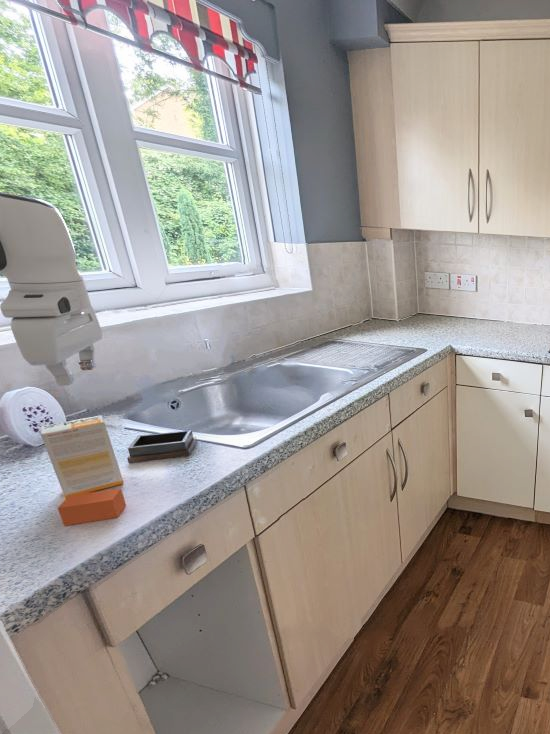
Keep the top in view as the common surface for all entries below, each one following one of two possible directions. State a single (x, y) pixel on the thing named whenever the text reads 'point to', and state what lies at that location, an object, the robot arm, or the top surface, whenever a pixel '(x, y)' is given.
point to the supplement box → (82, 455)
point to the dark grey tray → (161, 446)
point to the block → (92, 506)
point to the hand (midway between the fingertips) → (78, 376)
